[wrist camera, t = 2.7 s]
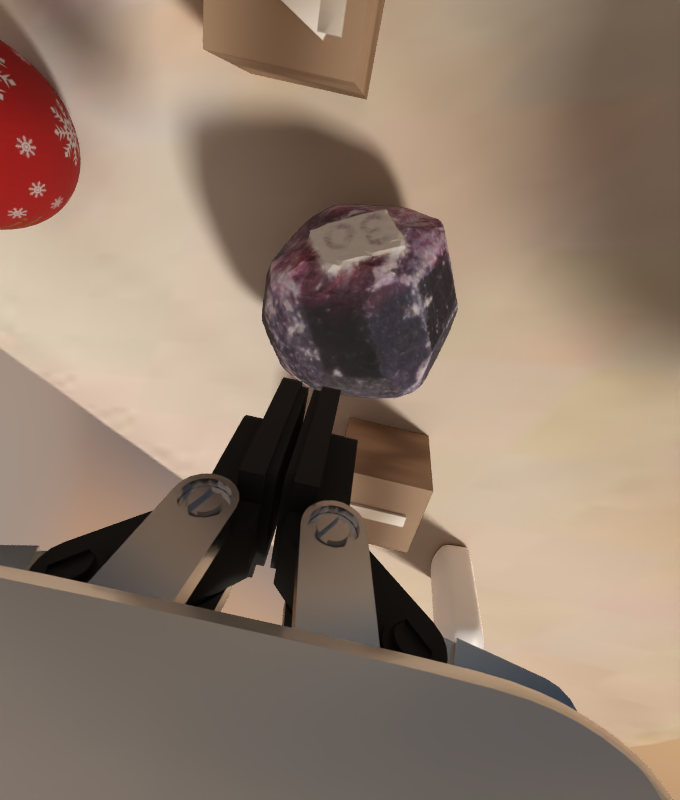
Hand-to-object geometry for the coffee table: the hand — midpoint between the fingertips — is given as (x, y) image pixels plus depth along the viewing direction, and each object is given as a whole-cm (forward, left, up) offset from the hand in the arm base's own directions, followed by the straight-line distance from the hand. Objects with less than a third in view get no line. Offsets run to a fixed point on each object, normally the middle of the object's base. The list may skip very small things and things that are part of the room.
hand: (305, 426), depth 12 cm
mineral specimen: (-1, 0, -16) cm, 16 cm away
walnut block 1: (-5, +13, -16) cm, 21 cm away
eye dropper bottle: (-14, +23, -16) cm, 31 cm away
